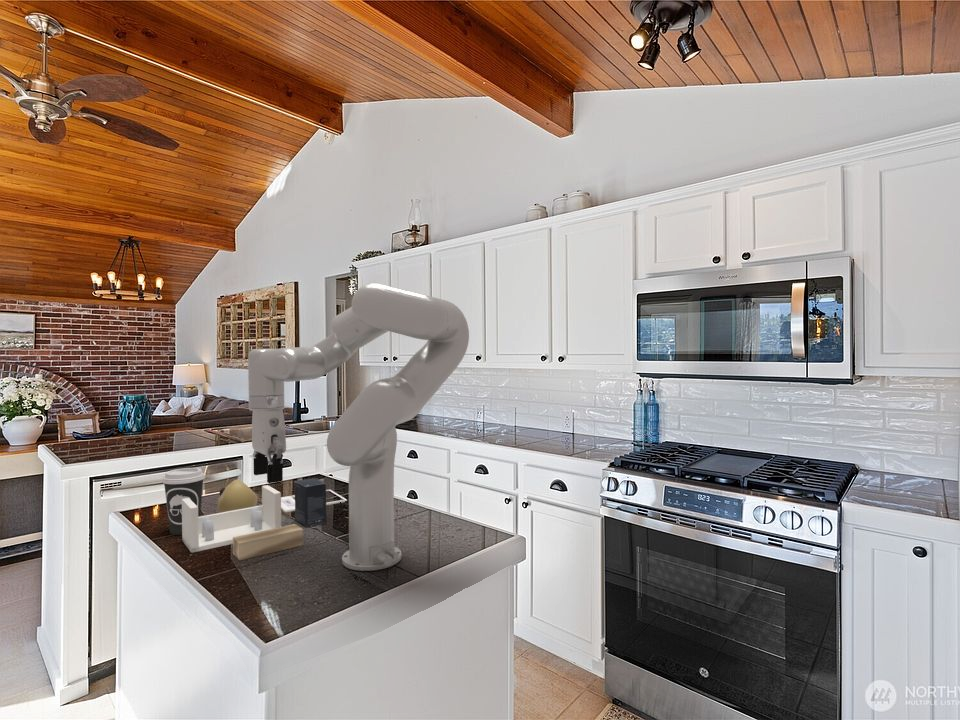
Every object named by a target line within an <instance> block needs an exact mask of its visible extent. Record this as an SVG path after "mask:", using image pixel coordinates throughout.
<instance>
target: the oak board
mask: <svg viewBox="0 0 960 720" xmlns="http://www.w3.org/2000/svg"><path fill="white" fill-rule="evenodd" d="M301 546H304V528H302V527H300V526H299V525H298V524H296V523H292V524H288V525H284V526H281V527H278V528H274V529H269V530H264V531H260V532H255V533H250V534H246V535H241V536H236V537H233V544H232V555H234V556H235V558H236V559H237V560H238V561H243V560H246V559H251V558H256V557H260V556H264V555H268V554H271V553H277V552H280V551H284V550H288V549H292V548H296V547H301Z"/></svg>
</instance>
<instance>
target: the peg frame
mask: <svg viewBox="0 0 960 720" xmlns="http://www.w3.org/2000/svg"><path fill="white" fill-rule="evenodd" d="M281 497H282V492H280V491H278V490H277V489H275V488H273V487H272V486H270V485H268V484H267V485H261V504H260V505H256V506H255V507H249V508H244V509H238V510H233V511H228V512H222V513H220V512H218V513H212V514H206V515H200V517H198V507H197V506H196V505H195V504H194V503H193V502H192V501H191V500H190V499H189V498H185V499H182V534H181V535H182V536H181V537H182V539H181V541H182V542H183V543H184V545H185V546H186V548H187V549H188V551H189V552H190V553H192V554H193V553H196V552H201V551H206V550H211V549H214V548H219V547H223V546H229V545H233V537H236V536H241V535H246V534H250V533H255V532H260V531H264V530H269V529H274V528H278V527H282V509H281Z"/></svg>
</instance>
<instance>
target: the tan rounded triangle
mask: <svg viewBox="0 0 960 720" xmlns="http://www.w3.org/2000/svg"><path fill="white" fill-rule="evenodd" d="M258 501H259V500H258V496H257V494H256V493H255V492H254V491H253V490H252V488H250V487H249V486H248V485H247V484H246V483H245V482H244V481H241V480H239V479H233V481H232V482H230V483H229V484H227V485H226V486H225V487H223V488H221V489H220V490H219V498H218V501H217V510H218V511H219V513H222V512H228V511H233V510H238V509H244V508H249V507H255V506H257V504H258Z"/></svg>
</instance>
